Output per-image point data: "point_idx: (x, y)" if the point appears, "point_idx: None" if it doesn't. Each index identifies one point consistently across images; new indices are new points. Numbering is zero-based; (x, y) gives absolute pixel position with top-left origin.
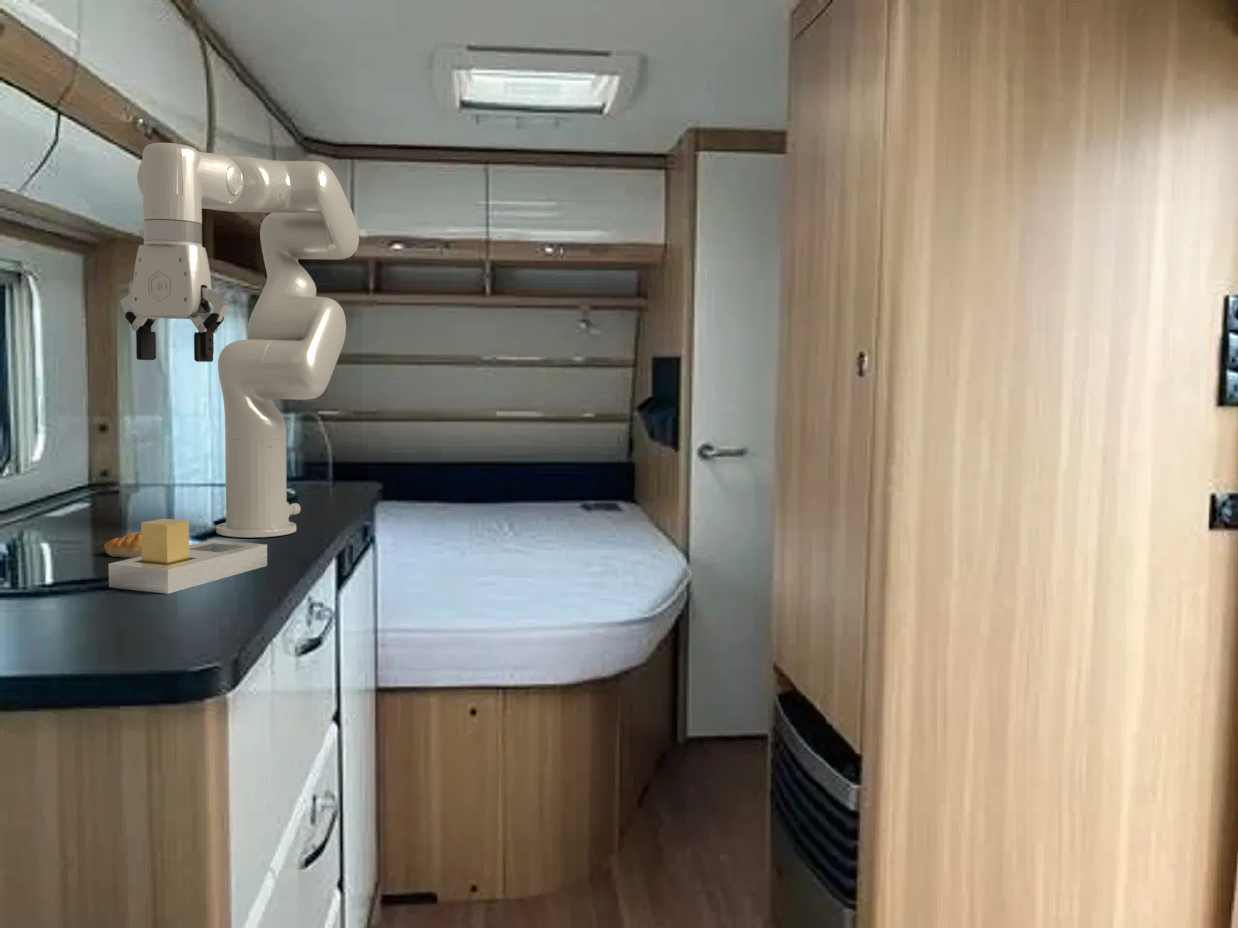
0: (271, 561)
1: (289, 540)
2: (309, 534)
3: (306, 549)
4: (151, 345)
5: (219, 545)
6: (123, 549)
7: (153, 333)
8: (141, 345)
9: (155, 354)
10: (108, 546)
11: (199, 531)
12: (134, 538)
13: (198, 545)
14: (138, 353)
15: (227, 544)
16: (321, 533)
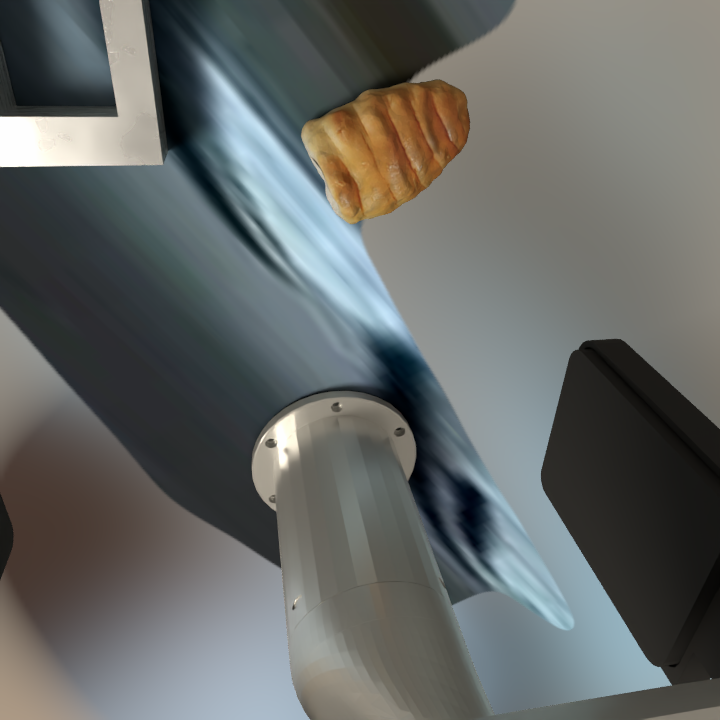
0: (35, 208)
1: (209, 424)
2: (223, 488)
3: (92, 363)
4: (604, 526)
5: (97, 116)
6: (398, 86)
7: (661, 645)
8: (637, 418)
9: (554, 501)
10: (444, 84)
11: (447, 414)
12: (386, 114)
13: (122, 63)
14: (620, 358)
15: (67, 118)
16: (210, 506)
